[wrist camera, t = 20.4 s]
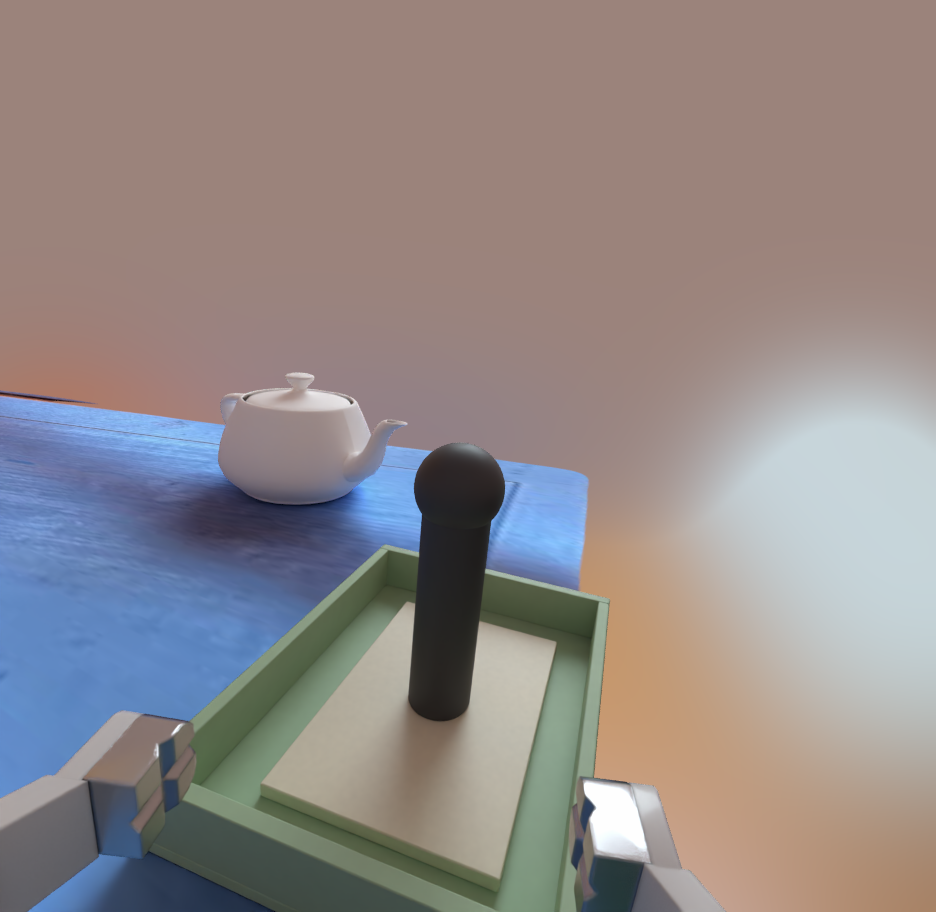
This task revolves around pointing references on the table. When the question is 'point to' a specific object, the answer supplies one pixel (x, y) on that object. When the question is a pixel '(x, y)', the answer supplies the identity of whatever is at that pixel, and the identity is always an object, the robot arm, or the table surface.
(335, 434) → the teapot
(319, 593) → the table surface
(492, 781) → the joystick
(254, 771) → the tray
